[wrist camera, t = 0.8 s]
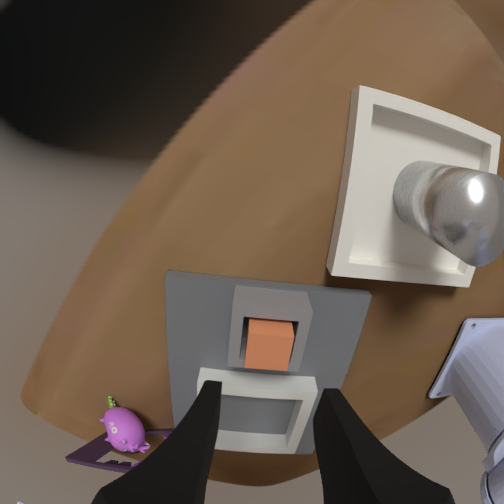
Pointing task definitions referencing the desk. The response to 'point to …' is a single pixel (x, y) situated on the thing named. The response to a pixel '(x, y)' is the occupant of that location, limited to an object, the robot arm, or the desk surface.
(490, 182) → the cylinder
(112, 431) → the eggplant monster toy
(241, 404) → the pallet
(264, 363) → the button
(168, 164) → the desk surface
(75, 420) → the desk surface
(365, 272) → the tray
